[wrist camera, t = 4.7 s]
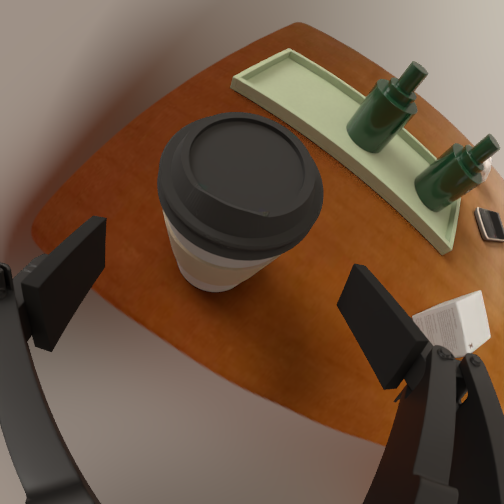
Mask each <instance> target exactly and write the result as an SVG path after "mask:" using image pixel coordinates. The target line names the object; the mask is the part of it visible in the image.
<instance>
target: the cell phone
mask: <svg viewBox="0 0 504 504" xmlns="http://www.w3.org/2000/svg"><path fill="white" fill-rule="evenodd" d="M474 213H475V216H476V220H477V223H478V226H479V229H480V232H481V236H482V238H483V239H485V240H491V241H500V242H504V228H503V225H502V222H501V219H500V216H499V213H497V212H493V211H490V210H486V209H483V208H479V207H477V208H476V210H475V212H474Z"/></svg>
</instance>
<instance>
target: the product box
mask: <svg viewBox="0 0 504 504" xmlns="http://www.w3.org/2000/svg"><path fill="white" fill-rule="evenodd" d="M412 318H413V321H414V322H415V324H416V325H417V326H418V327H419V328H420V330H421V331H422V332H423V333H424V335H425V336H426V337H427V338H428V340H429V341H430V342H431V343H432V345H433V346H435V345H440V346H443V347H445V348H447V349H448V350H449V351H450V352H451V353H452V354H453V355H454V357H455V358H459V357H464V356H465V355H466V353H472V352H473V351H475V350H476V349H477V348H478V347H480V346H481V345H482V344H483V343H485V342H486V341H487V340H488V339H489V338H491V336H490V330H489V325H488V320H487V315H486V310H485V306H484V301H483V297H482V292H481V290H479V291H476V292H473V293H470V294H467V295H464V296H461V297H458V298H455V299H452V300H449V301H446V302H443V303H440V304H438V305H436V306H434V307H431V308H429V309H427V310H425V311H422V312H420V313H418V314H416V315H413V316H412Z"/></svg>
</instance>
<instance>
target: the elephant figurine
mask: <svg viewBox="0 0 504 504" xmlns="http://www.w3.org/2000/svg"><path fill="white" fill-rule="evenodd" d="M483 164H484V170H483V171H482V172H481V175H482V182H484V181H485V180H486V179H487V176H488V174H489V172H490V170H491V164H492V159H491V157H490V158H489V159H487V160H486V161H485V162H483Z"/></svg>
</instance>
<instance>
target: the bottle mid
mask: <svg viewBox="0 0 504 504" xmlns="http://www.w3.org/2000/svg"><path fill="white" fill-rule="evenodd" d="M427 75H428V72H427V71H426V70H425V69H424V68H423V67H422V66H421V65H420V64H418V63H417V62H414V61H413V62H412V63H411V64H410V65H409V67H408V68H407V69H406V71H405V72H404V73H403V75H402V76H401V77H400V78H399V79H397V78H391V80H390V81H388V80H385V79H380V80H378V81H377V83H376V84H375V85H374V87H373V88H372V89H371V91H370V92H369V94H368V95H367V96H366V98H365V99H364V101H363V102H362V103H361V105H360V106H359V108H358V109H357V110H356V112H355V113H354V115H353V116H352V117H351V119H350V120H349V121H348V123H347V125H346V129H347V133H348V135H349V136H350V138H351V139H352V141H353V142H354V143H355V144H356V145H357V146H359V147H360V148H361V149H363V150H365V151H367V152H370V153H379V152H381V151H382V150H383V149H384V148H385V147H386V146H387V145H388V143H389V142H390V141H391V140H392V139H393V138H394V137H395V136H396V135H397V134H398V133H399V132H400V130H401V129H402V128H403V127H404V126H405V125H406V124H407V123H408V122H409V121H410V120H411V118H412V117H413V116H414V115H415V114H416V113H417V106H416V104H415V102H414V101H415V100H416V95H415V93H414V91H415V90H416V88H417V87H418V86H419V85H420V83H422V81H423V80H424V79H425V78H426V76H427Z"/></svg>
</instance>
